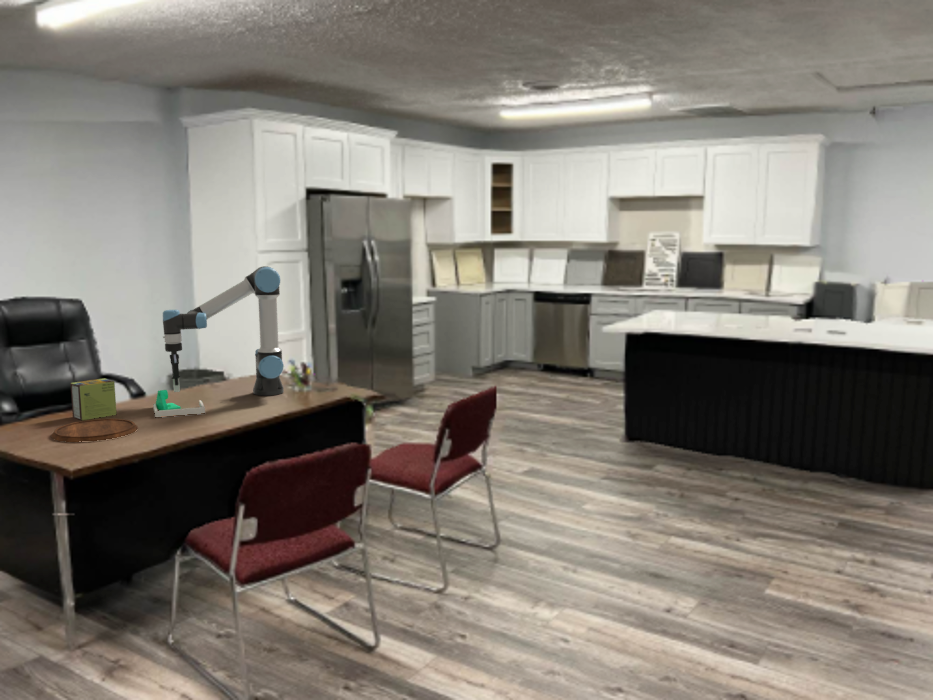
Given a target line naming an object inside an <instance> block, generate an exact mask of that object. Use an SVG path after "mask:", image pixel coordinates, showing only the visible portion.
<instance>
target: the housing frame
mask: <svg viewBox="0 0 933 700" xmlns="http://www.w3.org/2000/svg"><path fill="white" fill-rule="evenodd" d="M198 403H199V404H198V405H199V406H200V407H199V406H198V407H187V408H181V409H173V410H160V411H158V409H157V407H156V403H153V407H152V408H153V412H154V413H155V414H154V418H155V417H161V416H173V415H185V416H188V415H187V414H197V415H202V414H201V413H205V414H206V406H205V405H204V403H203V401H202V400H200V399H199V400H198Z"/></svg>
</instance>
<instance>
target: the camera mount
mask: <svg viewBox="0 0 933 700" xmlns="http://www.w3.org/2000/svg"><path fill="white" fill-rule="evenodd" d="M168 399H169V392H168V390H167V389H161V390H160V389H159V390H158V391H157V395H156V399H155V404H156V407H157V411H158V410H159V411H160V410H173V409H182V407H181V406H180V405H177V404H176V403H174V402H168V403H167V400H168Z"/></svg>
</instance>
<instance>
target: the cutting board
mask: <svg viewBox="0 0 933 700" xmlns="http://www.w3.org/2000/svg"><path fill="white" fill-rule="evenodd" d="M137 429H139V427H138V425H137V424H135V422H133V421H132V420H129V419H123V418H95V419H88V420H80V421H75V422H70V423H67V424H66V423H65V424H64V425H61V426H59V427H57V428H56V429H54V431H53V433H51V439H52V438H53V439H55V440H54V441H56V440H58V441H57V442H60V441H66V442H65V443H67V442H79V441H81V442H82V441H97V440H106V439H112V438H117V437H121V436H125V435H128V434H131V433H133V432H135V431H136V430H137ZM137 431H138V430H137ZM137 431H136V432H137ZM136 432H135V433H136ZM133 434H134V433H133ZM131 435H132V434H131ZM128 436H129V435H128ZM125 437H126V436H125ZM121 438H122V437H121ZM53 439H52V440H53ZM117 439H118V438H117ZM112 440H113V439H112Z"/></svg>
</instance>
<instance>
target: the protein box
mask: <svg viewBox="0 0 933 700" xmlns="http://www.w3.org/2000/svg"><path fill="white" fill-rule="evenodd" d="M115 385H116V383H115V380H111V379H108V378H98V379H89V380H84V381H77V382H76V381H75V382H70V385H69V386H70V395H71V397H70V398H71V408H72V412H71V413H72V418H74V419H77V420H80V421H86V420H95V419H100V418H99V417H101V418H107V417H111V416H112V415H113V416H116V414H117V401H116V386H115ZM106 416H107V417H106ZM94 418H95V419H94Z"/></svg>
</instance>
